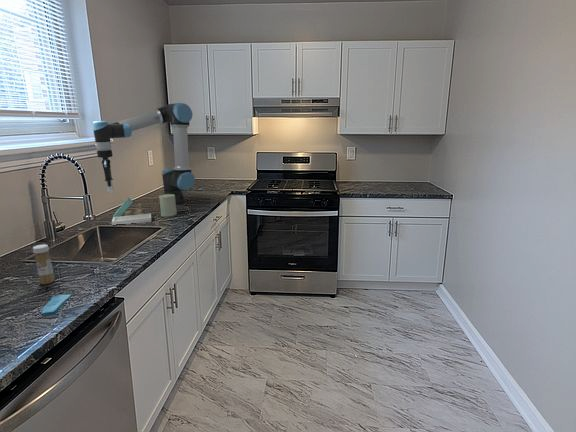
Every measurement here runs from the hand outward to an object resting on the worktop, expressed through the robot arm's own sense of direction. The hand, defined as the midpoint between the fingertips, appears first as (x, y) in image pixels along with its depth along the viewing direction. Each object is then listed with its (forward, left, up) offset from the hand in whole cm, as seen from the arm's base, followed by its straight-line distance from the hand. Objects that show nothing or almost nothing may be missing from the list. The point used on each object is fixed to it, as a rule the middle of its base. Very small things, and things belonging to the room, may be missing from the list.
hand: (110, 191), depth 210 cm
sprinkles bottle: (+15, +85, -16) cm, 88 cm away
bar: (-6, 0, -11) cm, 13 cm away
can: (-30, +2, -16) cm, 34 cm away
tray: (-10, +10, -16) cm, 21 cm away
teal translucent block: (-10, 0, -16) cm, 19 cm away
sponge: (+9, +106, -17) cm, 107 cm away
